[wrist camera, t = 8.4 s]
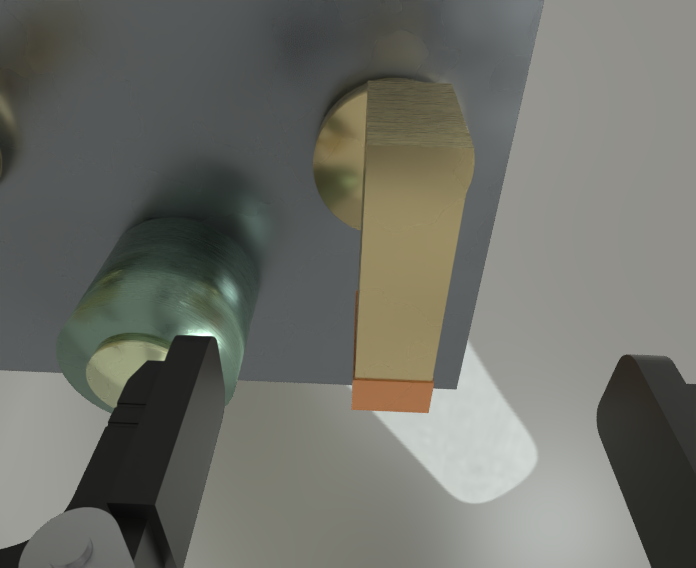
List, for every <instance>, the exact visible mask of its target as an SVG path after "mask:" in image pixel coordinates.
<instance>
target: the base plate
mask: <svg viewBox="0 0 696 568" xmlns="http://www.w3.org/2000/svg"><path fill="white" fill-rule="evenodd" d="M543 4H544V0H0V150H1V155H2V173H1V177H0V370H9V371H32V372H55V373H63V375H64V376H65V378H66V379H67V380H68V382H69V383H70V384H71V385H72V386H73V387H74V389H75V390H76V391H78V392H79V393H80V394H81V395H82V396H83V397H84V398H86V399H87V400H89V401H90V402H92V403H93V404H95V405H96V406H98V407H100V408H101V409H104V410H105V411H107V412H109V413H111V414H112V412H113V410H114V408H115V407H117V401H118V399H119V397H120V395H121V393H122V391H123V388H124V386H125V384H126V382H127V380H128V379H129V378H130V377H131V376H132V375H133V374H134V373H135V372H136V371H137V370H138V369H139V368H140V367H141V366H142V365H143V364H144V363H145V362H146V361H147V360H156V361H164V360H165V358H166V355H167V353H168V350H169V348H170V345H171V343H172V341H173V339H174V337H175V336H176V335H195V336H215V337H216V339H217V343H218V349H219V355H220V361H221V367H222V373H223V379H224V385H225V406H226V405H227V404H228V403H229V401H230V400H231V398H232V396H233V393H234V391H235V387H236V383H237V380H246V381H270V382H294V383H318V384H341V385H352V382H353V351H354V320H355V298H356V290H358V270H359V249H360V231H359V230H357V229H355V228H353V227H351V226H349V225H347V224H346V223H344V222H343V221H341V220H340V219H339V218H338V217H336V216H335V215H334V214H333V213H332V212H331V211H330V210H329V208H328V207H327V206H326V204H325V203H324V202H323V200H322V198H321V196H320V194H319V192H318V189H317V187H316V184H315V179H314V174H313V156H314V151H315V145H316V140H317V135H318V132H319V129H320V126H321V124H322V122H323V120H324V118H325V116H326V115H327V113H328V112H329V110H330V109H331V107H332V106H333V105H334V104H335V103H336V102H337V101H338V100H339V99H340V98H341V97H343V96H344V95H345V94H346V93H348V92H349V91H351V90H353V89H354V88H356V87H358V86H360V85H362V84H365V83H367V82H368V80H378V79H384V78H407V79H413V80H417V81H421V82H426V83H452V85H453V88H454V91H455V94H456V97H457V100H458V103H459V106H460V109H461V112H462V114H463V117H464V120H465V123H466V125H467V128H468V131H469V134H470V137H471V140H472V143H473V146H474V158H475V164H474V173H473V177H472V180H471V183H470V186H469V188H468V191H467V193H466V197H465V202H464V208H463V213H462V219H461V224H460V230H459V235H458V241H457V246H456V252H455V257H454V263H453V268H452V274H451V279H450V285H449V290H448V296H447V301H446V307H445V312H444V318H443V323H442V329H441V334H440V340H439V345H438V351H437V356H436V362H435V367H434V373H433V380H434V386H433V388H436V389H457V384H458V380H459V375H460V371H461V367H462V362H463V358H464V353H465V349H466V344H467V340H468V336H469V331H470V327H471V322H472V317H473V313H474V309H475V305H476V300H477V295H478V291H479V287H480V282H481V278H482V274H483V269H484V265H485V260H486V256H487V251H488V247H489V243H490V238H491V234H492V229H493V225H494V221H495V216H496V211H497V207H498V203H499V198H500V194H501V190H502V185H503V181H504V176H505V172H506V167H507V163H508V159H509V154H510V150H511V145H512V141H513V137H514V132H515V128H516V123H517V119H518V114H519V110H520V105H521V101H522V96H523V92H524V88H525V83H526V79H527V75H528V70H529V66H530V61H531V57H532V52H533V48H534V43H535V39H536V34H537V30H538V26H539V21H540V17H541V13H542V8H543Z"/></svg>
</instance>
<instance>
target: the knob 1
mask: <svg viewBox="0 0 696 568" xmlns="http://www.w3.org/2000/svg"><path fill="white" fill-rule="evenodd" d="M1 173H2V155H1V150H0V177H1Z"/></svg>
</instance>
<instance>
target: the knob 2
mask: <svg viewBox="0 0 696 568" xmlns="http://www.w3.org/2000/svg"><path fill="white" fill-rule="evenodd" d="M474 164H475V158H474V146H473V143H472V140H471V137H470V134H469V131H468V128H467V125H466V123H465V120H464V117H463V114H462V112H461V109H460V106H459V103H458V100H457V97H456V94H455V91H454V88H453V85H452V83H426V82H421V81H417V80H413V79H407V78H384V79H378V80H368V82H367V83H365V84H362V85H360V86H358V87H356V88H354V89H353V90H351V91H349V92H348V93H346V94H345V95H344V96H343V97H341V98H340V99H339V100H338V101H337V102H336V103H335V104H334V105H333V106H332V107H331V109H330V110H329V112H328V113H327V115H326V116H325V118H324V120H323V122H322V124H321V126H320V129H319V132H318V135H317V140H316V145H315V151H314V156H313V174H314V179H315V184H316V187H317V189H318V192H319V194H320V196H321V198H322V200H323V202H324V203H325V204H326V206H327V207H328V208H329V210H330V211H331V212H332V213H333V214H334V215H335V216H336V217H338V218H339V219H340V220H341V221H343V222H344V223H346V224H347V225H349V226H351V227H353V228H355V229H357V230H359V231H360V249H359V270H358V290H356V298H355V320H354V351H353V382H352V410H371V411H394V412H418V413H429V407H430V402H431V396H432V391H433V386H434V380H433V373H434V367H435V362H436V356H437V351H438V345H439V340H440V334H441V329H442V323H443V318H444V312H445V307H446V301H447V296H448V290H449V285H450V279H451V274H452V268H453V263H454V257H455V252H456V246H457V241H458V235H459V230H460V224H461V219H462V213H463V208H464V202H465V197H466V193H467V191H468V188H469V186H470V183H471V180H472V177H473V173H474Z"/></svg>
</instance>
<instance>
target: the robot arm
mask: <svg viewBox="0 0 696 568" xmlns="http://www.w3.org/2000/svg"><path fill="white" fill-rule="evenodd" d="M224 408H225V385H224V379H223V373H222V367H221V361H220V355H219V349H218V343H217V339H216V337H215V336H195V335H176V336H175V337H174V339H173V341H172V343H171V345H170V348H169V350H168V353H167V355H166V358H165V360H164V361H156V360H147V361H146V362H145V363H144V364H143V365H142V366H141V367H140V368H139V369H138V370H137V371H136V372H135V373H134V374H133V375H132V376H131V377H130V378H129V379H128V380H127V382H126V384H125V386H124V388H123V391H122V393H121V395H120V397H119V399H118V401H117V407H115V408H114V410H113V412H112V414H111V416H110V419H109V421H108V426H107V427H105V429H104V432H103V434H102V436H101V438H100V440H99V442H98V444H97V447H96V449H95V451H94V453H93V455H92V457H91V460H90V462H89V464H88V466H87V468H86V470H85V472H84V475H83V477H82V479H81V481H80V483H79V485H78V487H77V490H76V492H75V494H74V496H73V498H72V500H71V502H70V504H69V505H68V507H67V508H66V510H65V511H64V513H62V514H59V515H58V516H56V517H54V518H52V519H51V520H49V521H48V522H47V523H46V524H44V525H43V526H42V527H41V528H40V529H39V530H38V531H36V533H35V534H34V535H33V537H31V539H29V540H27V541H25V542H23V543H20V544H17V545H14V546H11V547H8V548H4V549H0V568H183V567H184V563H185V559H186V555H187V552H188V548H189V544H190V540H191V536H192V533H193V529H194V525H195V521H196V518H197V514H198V510H199V506H200V502H201V499H202V495H203V491H204V487H205V483H206V480H207V476H208V472H209V468H210V464H211V461H212V457H213V453H214V449H215V445H216V442H217V437H218V434H219V430H220V427H221V423H222V419H223V413H224ZM597 428H598V432H599V435H600V438H601V441H602V443H603V446H604V448H605V451H606V453H607V456H608V459H609V461H610V464H611V466H612V469H613V471H614V474H615V476H616V479H617V481H618V484H619V486H620V489H621V491H622V494H623V496H624V499H625V501H626V504H627V507H628V509H629V511H630V514H631V517H632V519H633V522H634V524H635V527H636V530H637V532H638V535H639V537H640V540H641V542H642V544H643V547H644V550H645V552H646V555H647V557H648V560H649V562H650V565H651V568H696V384H686V383H685V381H684V380H683V378H682V376H681V374H680V373H679V371H678V369H677V368H676V366H675V364H674V363H673V361H672V360H671V359H670V358H668V357H666V356H651V355H624V356H622V357H621V358H620V360H619V362H618V364H617V366H616V368H615V370H614V372H613V374H612V377H611V379H610V381H609V383H608V385H607V388H606V390H605V392H604V394H603V396H602V398H601V400H600V403H599V405H598V409H597Z"/></svg>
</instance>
